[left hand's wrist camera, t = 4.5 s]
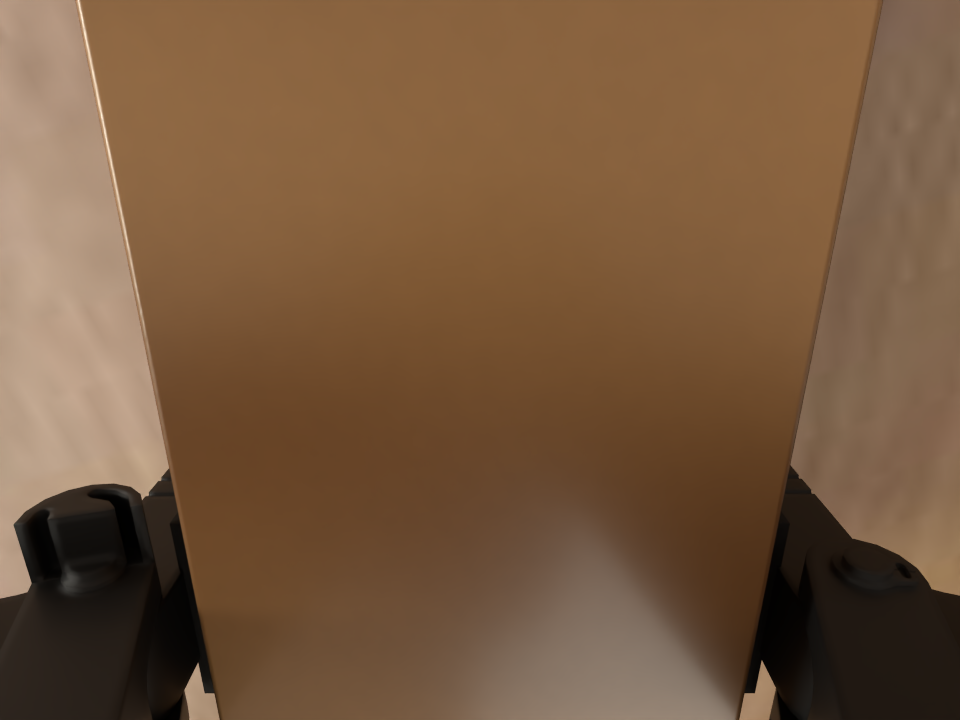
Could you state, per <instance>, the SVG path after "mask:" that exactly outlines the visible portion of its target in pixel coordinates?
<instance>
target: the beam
mask: <svg viewBox="0 0 960 720" xmlns="http://www.w3.org/2000/svg"><path fill="white" fill-rule="evenodd" d="M75 1H76V6H77V11H78V16H79V21H80V26H81V31H82V36H83V41H84V46H85V51H86V56H87V61H88V66H89V71H90V76H91V81H92V85H93V90H94V95H95V100H96V105H97V110H98V115H99V120H100V125H101V130H102V135H103V140H104V145H105V150H106V155H107V160H108V165H109V170H110V175H111V180H112V185H113V190H114V195H115V200H116V205H117V210H118V215H119V220H120V225H121V230H122V235H123V240H124V245H125V250H126V255H127V260H128V265H129V270H130V275H131V280H132V285H133V290H134V295H135V300H136V305H137V310H138V315H139V320H140V325H141V330H142V335H143V339H144V344H145V349H146V354H147V359H148V364H149V369H150V374H151V379H152V384H153V389H154V394H155V399H156V404H157V409H158V414H159V419H160V424H161V429H162V434H163V439H164V444H165V449H166V454H167V459H168V464H169V469H170V474H171V479H172V484H173V489H174V494H175V499H176V504H177V509H178V514H179V519H180V524H181V529H182V534H183V539H184V544H185V549H186V554H187V559H188V564H189V569H190V574H191V579H192V584H193V589H194V593H195V598H196V603H197V608H198V613H199V618H200V623H201V628H202V633H203V638H204V643H205V648H206V653H207V658H208V663H209V668H210V673H211V678H212V683H213V688H214V693H215V698H216V703H217V708H218V713H219V718H220V720H739V718H740V713H741V708H742V703H743V698H744V693H745V688H746V683H747V678H748V673H749V668H750V663H751V658H752V653H753V648H754V643H755V638H756V633H757V628H758V623H759V618H760V613H761V608H762V603H763V598H764V593H765V588H766V583H767V578H768V573H769V568H770V563H771V558H772V553H773V548H774V543H775V538H776V533H777V528H778V523H779V518H780V513H781V508H782V503H783V498H784V493H785V488H786V483H787V478H788V473H789V468H790V463H791V458H792V453H793V448H794V443H795V438H796V433H797V428H798V423H799V418H800V413H801V408H802V403H803V398H804V393H805V388H806V383H807V378H808V373H809V368H810V363H811V358H812V353H813V348H814V343H815V338H816V333H817V328H818V323H819V318H820V313H821V308H822V303H823V298H824V293H825V288H826V283H827V278H828V273H829V268H830V263H831V258H832V253H833V248H834V243H835V238H836V233H837V228H838V223H839V218H840V213H841V208H842V203H843V198H844V193H845V188H846V183H847V178H848V173H849V168H850V163H851V158H852V153H853V148H854V143H855V138H856V133H857V128H858V123H859V118H860V113H861V108H862V103H863V98H864V93H865V88H866V83H867V78H868V73H869V68H870V63H871V58H872V53H873V48H874V43H875V38H876V33H877V28H878V24H879V19H880V14H881V9H882V4H883V0H75Z"/></svg>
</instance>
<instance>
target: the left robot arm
mask: <svg viewBox="0 0 960 720" xmlns="http://www.w3.org/2000/svg"><path fill="white" fill-rule="evenodd" d="M14 528H15V531H16V534H17V537H18V541H19V544H20V547H21V550H22V553H23V556H24V560H25V563H26V566H27V569H28V572H29V576H30V579H31V582H32V584H31V586H30V588H29V591H28V592H27V593H24V594H20V595H16V596H11V597H6V598H1V599H0V720H189V712H188V705H187V700H186V696H185V691H184V689H185V687H186V685H187V683H188V681H189V679H190V677H191V675H192V673H193V671H194V669H195V667H196V665H197V663H199V668H200V672H201V677H202V682H203V687H204V692H205V693H214V688H213V683H212V678H211V673H210V668H209V663H208V658H207V653H206V648H205V643H204V638H203V633H202V628H201V623H200V618H199V613H198V608H197V603H196V598H195V593H194V589H193V584H192V579H191V574H190V569H189V564H188V559H187V554H186V549H185V544H184V539H183V534H182V529H181V524H180V519H179V514H178V509H177V504H176V499H175V494H174V489H173V484H172V479H171V474H170V469H168V470H167V472H166V473H165V474H164V475H163V476H162V479H161V481H158V482H157V483H156V485H155V486H154V487H153V488H152V489H151V491H150V492H149V496H146V497H145V498H144V499H143V500H142V499H141V494H140V493H138V492H137V491H135V490H134V489H133V488H131V487H128V486H123V485H118V484H99V485H89V486H85V487H81V488H76V489H72V490H68V491H65V492H63V493H60V494H58V495H55V496H53V497H50V498H48V499H45V500H43V501H42V502H40V503H39V504H37V505H35V506H34V507H32V508H31V509H29V510H27V511H26V512H25V513H24V514H23V515H22V516H21V517H20V518H19V519H18V520H17V522H16V523H15V524H14ZM761 661H763V663H764V665H765V667H766V669H767V671H768V673H769V675H770V677H771V679H772V681H773V683H774V685H775V687H776V691H775V696H774V700H773V705H772V709H771V714H770V718H769V720H960V596H959V595H954V594H949V593H944V592H940V591H936V590H933V589H931V587H930V585H929V583H928V582H927V580H926V579H925V578H924V576H923V575H922V574H921V573H920V571H919V570H918V569H917V568H916V567H915V566H913V565H912V564H911V563H909V562H908V561H906V560H905V559H904V558H902V557H901V556H900V555H898V554H896V553H893V552H891V551H889V550H887V549H885V548H883V547H880V546H878V545H875V544H871V543H868V542H864V541H860V540H856V539H852V538H851V537H850V535H849V534H848V533H847V532H846V531H845V529H844V528H843V527H842V526H841V525H840V524H839V522H838V521H837V520H836V519H835V518H834V516H833V515H832V514H831V513H830V512H829V511H828V509H827V508H826V507H825V506H824V505H823V503H822V502H821V501H820V500H819V499H818V498H817V496H816V495H815V494H811V489H810V488H809V487H808V486H807V485H806V483H805V482H804V481H803V480H802V479H799V475H798V474H797V473H796V472H795V470H794V469H793V468H792V467H791V466H790V468H789V473H788V478H787V483H786V488H785V493H784V498H783V503H782V508H781V513H780V518H779V523H778V528H777V533H776V538H775V543H774V548H773V553H772V558H771V563H770V568H769V573H768V578H767V583H766V588H765V593H764V598H763V603H762V608H761V613H760V618H759V623H758V628H757V633H756V638H755V643H754V648H753V653H752V658H751V663H750V668H749V673H748V678H747V683H746V688H745V693H755V690H756V685H757V680H758V675H759V670H760V665H761Z"/></svg>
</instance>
